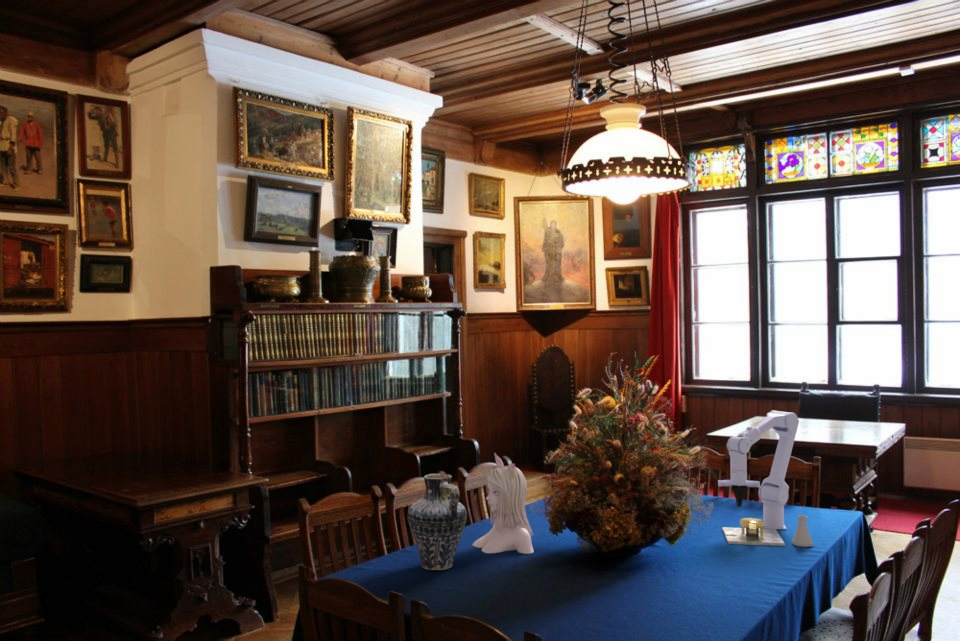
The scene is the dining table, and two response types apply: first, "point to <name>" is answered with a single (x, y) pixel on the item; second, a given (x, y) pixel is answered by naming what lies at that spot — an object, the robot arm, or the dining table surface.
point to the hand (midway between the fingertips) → (739, 506)
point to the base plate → (753, 537)
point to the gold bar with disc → (752, 525)
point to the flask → (802, 533)
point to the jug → (437, 522)
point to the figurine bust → (506, 511)
